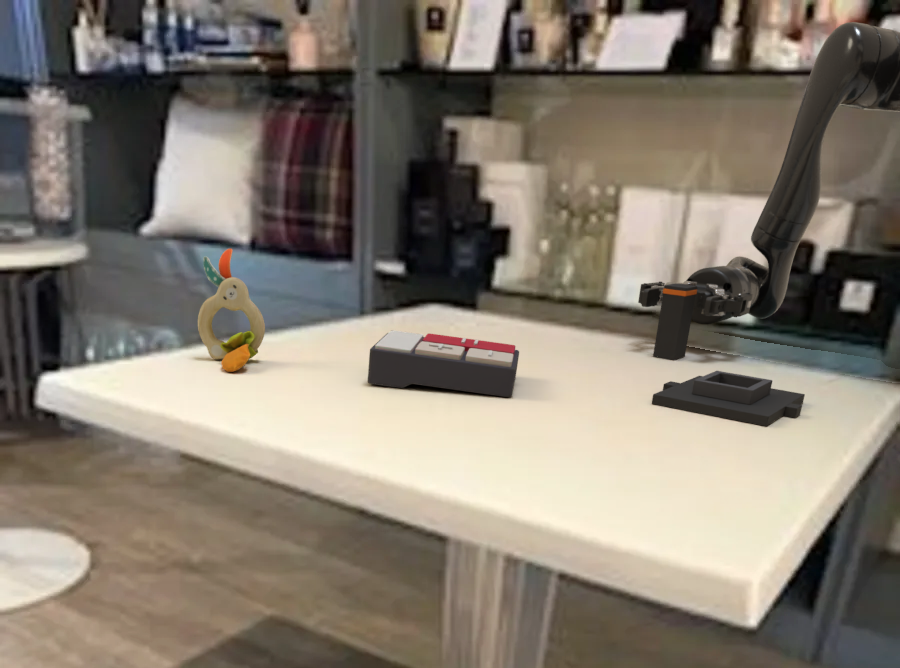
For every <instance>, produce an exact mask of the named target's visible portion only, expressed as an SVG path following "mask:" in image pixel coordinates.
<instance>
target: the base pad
mask: <svg viewBox="0 0 900 668" xmlns="http://www.w3.org/2000/svg"><path fill="white" fill-rule="evenodd" d="M772 385H773V380H772V379H767V378H761V377H755V376H750V375H746V374H745V375H744V374H738V373H732V372H727V371H722V370H714V371H712V372H710V373H708V374H705V375H698V376H695V377H693V378H690V379H688V380H685V381H682V382H678V381H672V380H670V381H667V382H665V383H663V387H662V390H660V391H658V392H655V393H652V398H651V404H652V405H657V406H662V407H666V408H672V409H677V410H681V411H687V412H693V413H697V414H702V415H707V416H712V417H717V418H723V419H728V420H733V421H738V422H742V423H748V424H752V425H757V426H762V427H768V426H770V425H771V424H773V423H774V422H776V421H777V420H779V419H780V418H782V417H786V418H792V419H793V418H794V419H796V418H797V417H799V416H800V415H801V413H802V408H803V405H802V404H804V400H805V395H806V394H805V393H800V392H795V391H788V390H783V389H778V388H772Z"/></svg>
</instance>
